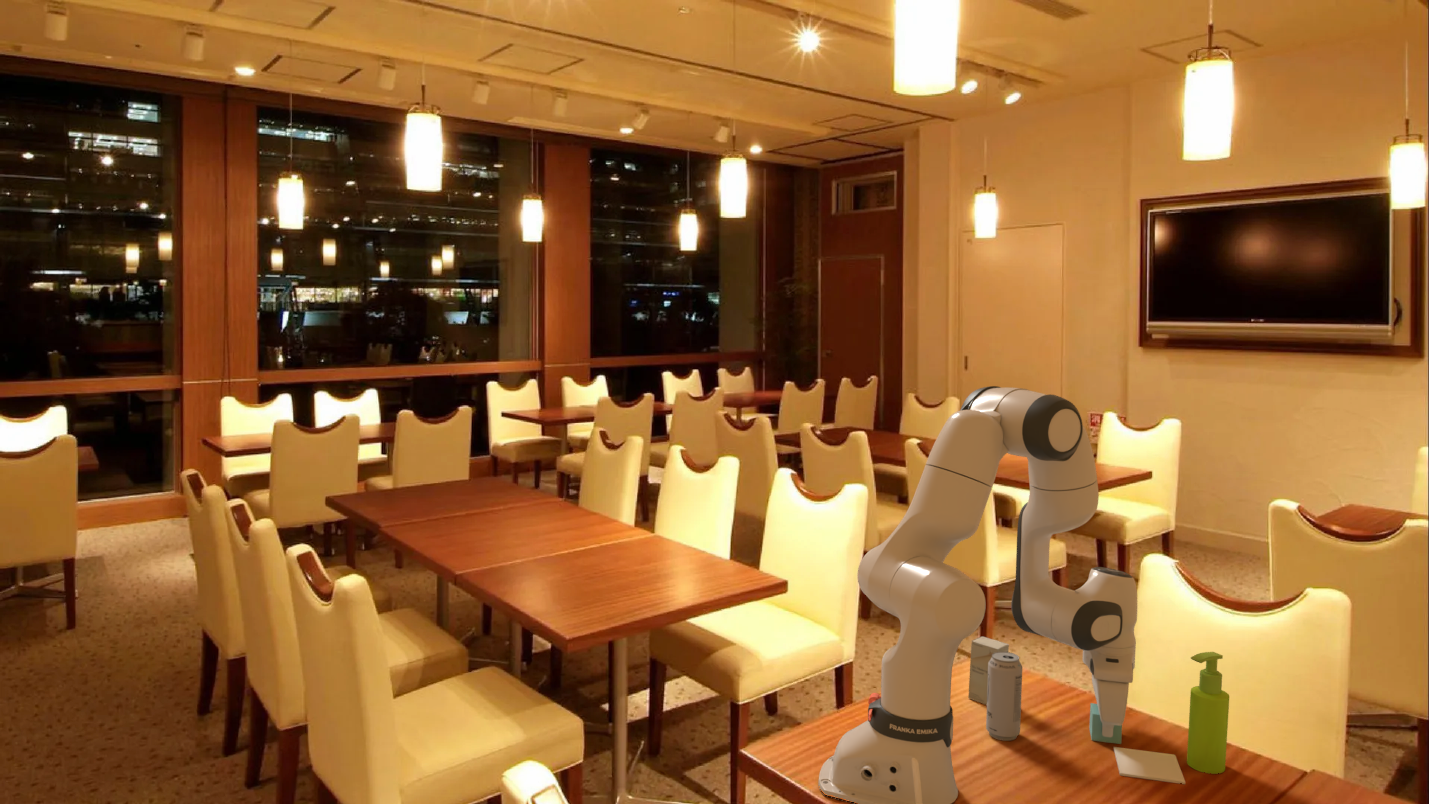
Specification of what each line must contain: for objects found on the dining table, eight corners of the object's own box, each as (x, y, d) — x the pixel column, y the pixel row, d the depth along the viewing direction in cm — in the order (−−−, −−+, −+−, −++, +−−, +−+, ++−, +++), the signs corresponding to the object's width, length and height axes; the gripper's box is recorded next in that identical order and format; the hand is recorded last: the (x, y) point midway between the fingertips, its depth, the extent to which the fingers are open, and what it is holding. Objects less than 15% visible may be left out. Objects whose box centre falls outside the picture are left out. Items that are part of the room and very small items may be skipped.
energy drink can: (988, 725, 179) (991, 648, 177) (1021, 731, 176) (1024, 653, 175) (983, 738, 173) (986, 659, 172) (1017, 744, 171) (1020, 664, 169)
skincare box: (967, 698, 191) (969, 640, 190) (979, 692, 194) (981, 635, 193) (995, 708, 186) (997, 648, 185) (1007, 702, 189) (1009, 643, 188)
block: (1091, 740, 173) (1092, 714, 172) (1089, 728, 177) (1090, 703, 177) (1121, 744, 171) (1122, 717, 171) (1118, 732, 176) (1119, 706, 175)
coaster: (1120, 775, 160) (1120, 773, 160) (1113, 748, 169) (1113, 746, 169) (1185, 784, 157) (1185, 781, 157) (1174, 756, 166) (1175, 754, 166)
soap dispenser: (1174, 762, 164) (1180, 650, 162) (1203, 755, 167) (1210, 645, 165) (1203, 777, 159) (1209, 662, 157) (1233, 770, 162) (1239, 657, 160)
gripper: (1085, 634, 184) (1082, 703, 185) (1095, 673, 164) (1091, 749, 165) (1120, 638, 182) (1117, 707, 183) (1134, 677, 162) (1130, 754, 164)
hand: (1105, 727), depth 174 cm, fingers closed on block, 5 cm apart
